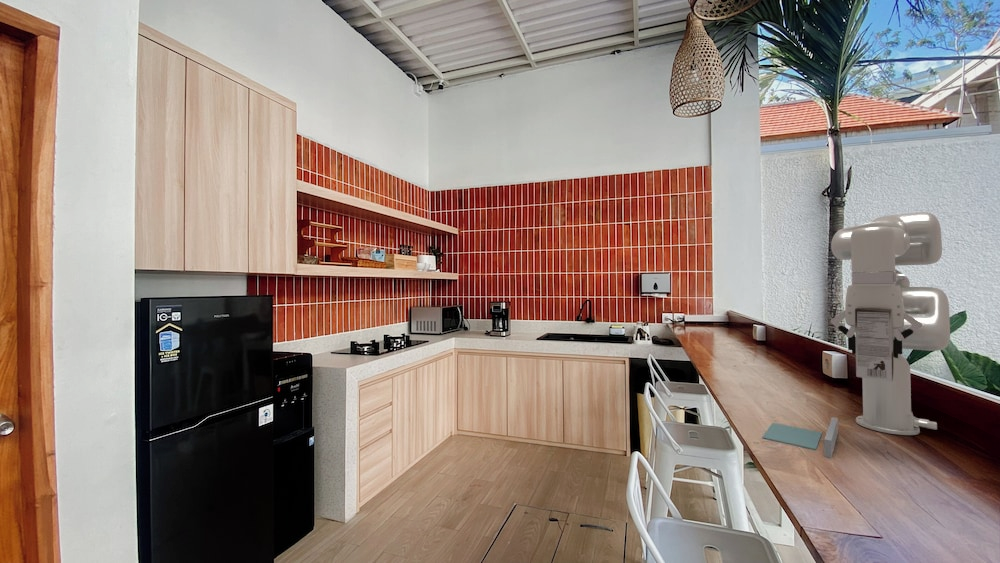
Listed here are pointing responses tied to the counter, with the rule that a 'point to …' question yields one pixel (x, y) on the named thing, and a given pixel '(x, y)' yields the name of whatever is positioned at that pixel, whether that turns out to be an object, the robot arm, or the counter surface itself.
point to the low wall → (831, 437)
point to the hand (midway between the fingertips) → (874, 354)
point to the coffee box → (874, 343)
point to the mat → (793, 436)
